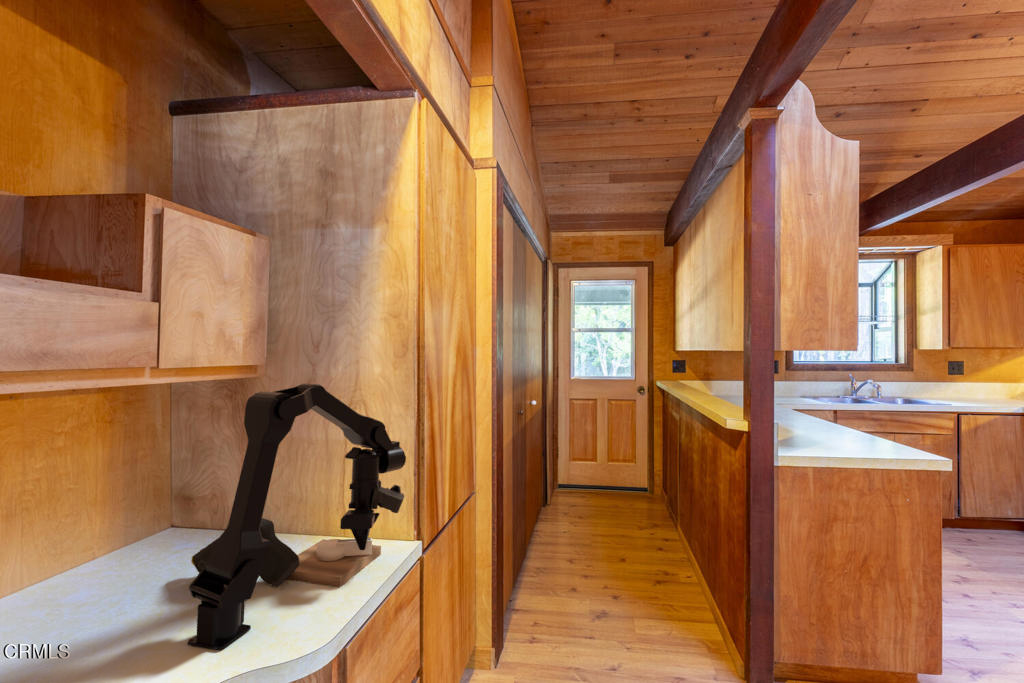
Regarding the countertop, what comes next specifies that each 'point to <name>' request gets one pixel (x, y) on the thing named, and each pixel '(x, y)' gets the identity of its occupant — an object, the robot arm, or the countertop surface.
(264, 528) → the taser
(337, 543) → the cream elongated piece
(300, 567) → the panel
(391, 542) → the countertop surface
